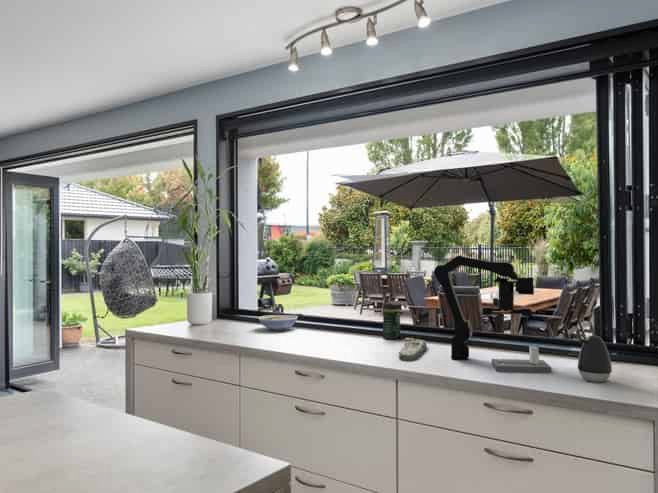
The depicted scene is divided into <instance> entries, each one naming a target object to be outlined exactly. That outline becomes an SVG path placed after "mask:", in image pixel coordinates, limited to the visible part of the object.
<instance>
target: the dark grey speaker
mask: <svg viewBox="0 0 658 493" xmlns="http://www.w3.org/2000/svg"><path fill="white" fill-rule="evenodd" d="M578 341H579V342H580V343H582V346H581V348H580V350H579V355H578V359H577V360H578V362H577V369H578V371H579V374H580V377H582V378H583V379H584V380H585V381H588V382H592V383H603V382H607V380H609V378H610V377H611V373H612V372H613V368H612V360H611V356H610V354H609V350H608V348H607V346H606V344H605V342H604V340H603V339H602V338H601V337H600V336H598V335H588V336H587V337H586V338H585V339H584V338H581V337H579V338H578Z"/></svg>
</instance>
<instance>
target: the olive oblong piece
mask: <svg viewBox="0 0 658 493" xmlns="http://www.w3.org/2000/svg"><path fill="white" fill-rule="evenodd" d="M403 341H404V346H403V347H402V348H401V349H400V351H398V358H399V359H400V360H401V361H406V362H412V360H413V361H414V360H415V359H417V358H418V357H421V355H422V354H423V353H424V351H425V350H426V349H427V341H425V340H424V339H417V338H414V337H405V338H404V340H403Z"/></svg>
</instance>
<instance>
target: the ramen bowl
mask: <svg viewBox="0 0 658 493" xmlns="http://www.w3.org/2000/svg"><path fill="white" fill-rule="evenodd" d="M299 316H303V313H292V314H291V313H286V314H285V313H282V314H265V315H260V316H258V320H259V322H260V323H261V325H263V326H264V328H267V329H270V330H271V331H276V332H278V331H285V330H287V329H289V328H291V327H292V326H293V325H294V324H295V323H296V321H297V320H298V317H299Z"/></svg>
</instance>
